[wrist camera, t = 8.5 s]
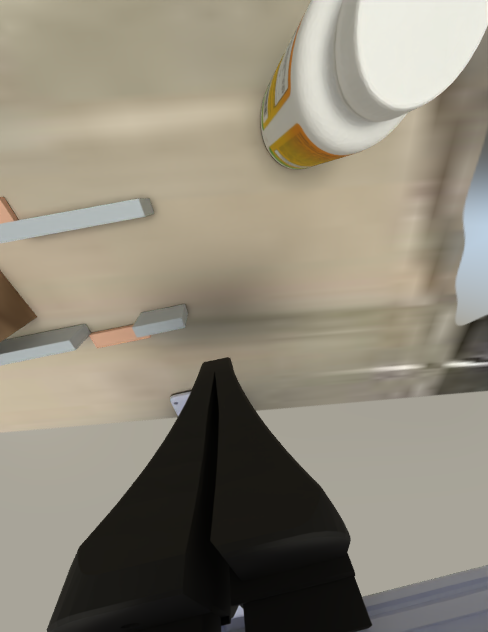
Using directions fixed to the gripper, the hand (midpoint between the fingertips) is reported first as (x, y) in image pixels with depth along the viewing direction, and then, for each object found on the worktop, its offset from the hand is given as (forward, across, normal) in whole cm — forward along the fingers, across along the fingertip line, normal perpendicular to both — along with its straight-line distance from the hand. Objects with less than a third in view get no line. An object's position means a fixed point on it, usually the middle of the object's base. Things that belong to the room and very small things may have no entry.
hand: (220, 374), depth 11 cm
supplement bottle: (+10, -8, -11) cm, 17 cm away
